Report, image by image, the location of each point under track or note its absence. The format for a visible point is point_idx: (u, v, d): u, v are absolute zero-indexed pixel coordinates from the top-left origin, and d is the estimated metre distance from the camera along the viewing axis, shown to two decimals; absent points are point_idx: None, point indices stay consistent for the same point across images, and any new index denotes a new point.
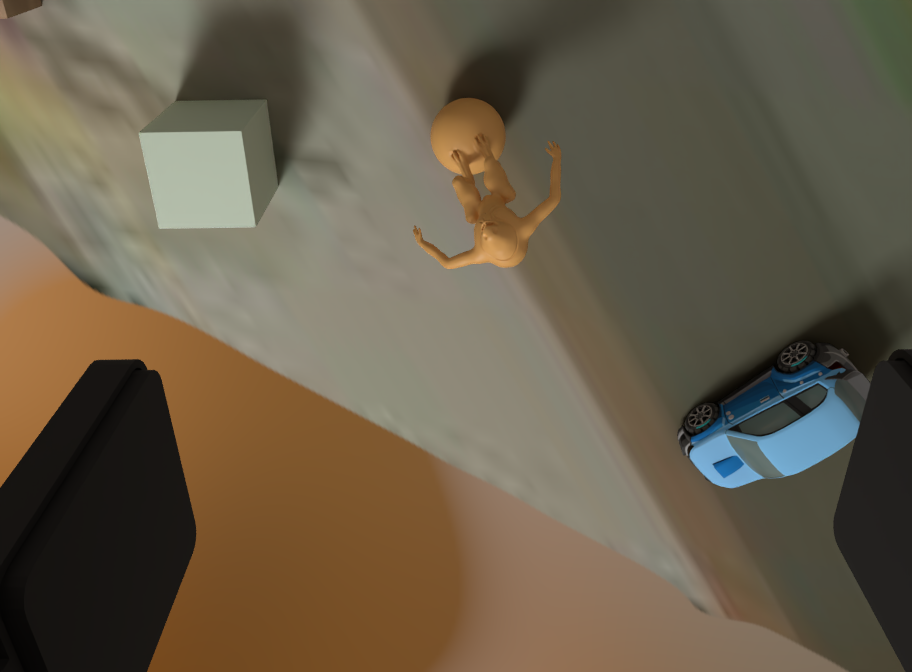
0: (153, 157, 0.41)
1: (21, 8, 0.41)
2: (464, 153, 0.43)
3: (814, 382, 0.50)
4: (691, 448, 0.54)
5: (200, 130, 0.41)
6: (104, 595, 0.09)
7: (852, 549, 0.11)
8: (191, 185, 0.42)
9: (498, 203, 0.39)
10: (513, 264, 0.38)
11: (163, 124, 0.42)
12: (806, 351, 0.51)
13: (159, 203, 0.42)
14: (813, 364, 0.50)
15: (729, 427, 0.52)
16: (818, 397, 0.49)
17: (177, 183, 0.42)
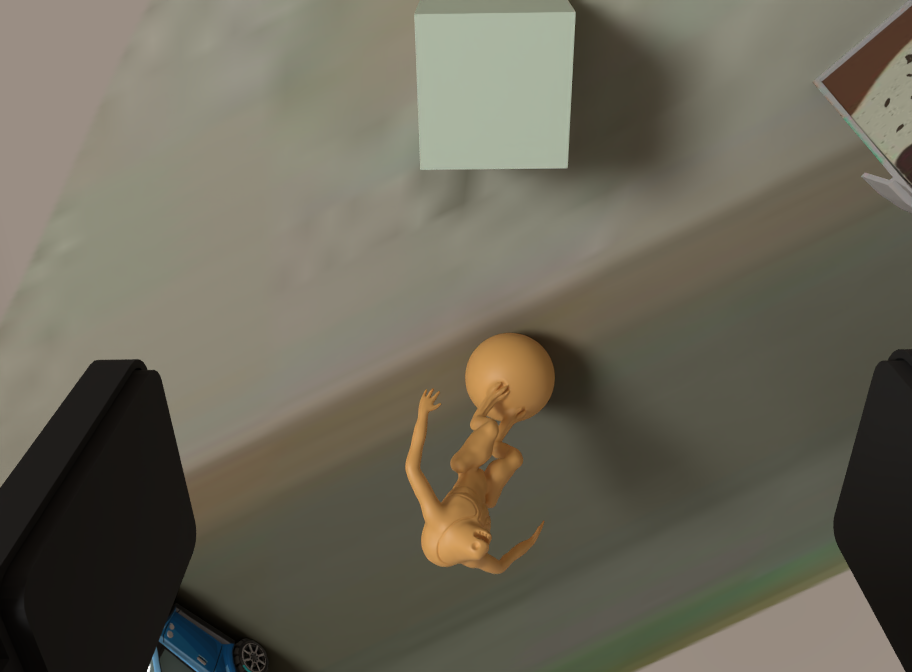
0: (534, 28, 0.26)
1: None
2: (505, 398, 0.35)
3: None
4: None
5: (569, 105, 0.27)
6: (104, 595, 0.09)
7: (852, 549, 0.11)
8: (487, 81, 0.27)
9: (485, 502, 0.32)
10: (430, 559, 0.30)
11: None
12: (261, 670, 0.48)
13: (458, 23, 0.26)
14: None
15: None
16: None
17: (491, 59, 0.27)
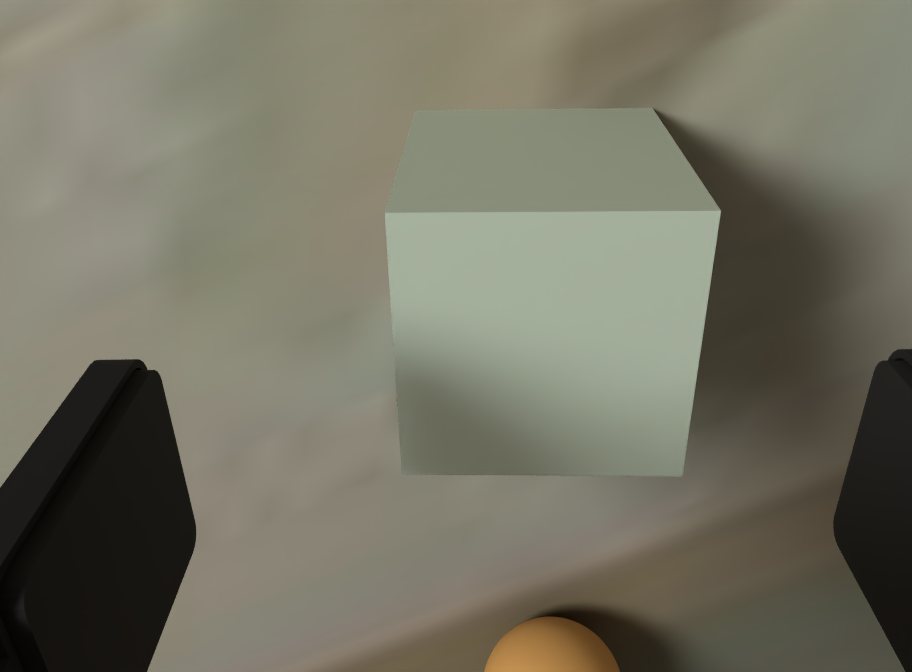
0: (632, 239, 0.13)
1: None
2: None
3: None
4: None
5: (692, 368, 0.14)
6: (104, 595, 0.09)
7: (852, 549, 0.11)
8: (533, 332, 0.13)
9: None
10: None
11: None
12: None
13: (475, 229, 0.13)
14: None
15: None
16: None
17: (542, 295, 0.13)
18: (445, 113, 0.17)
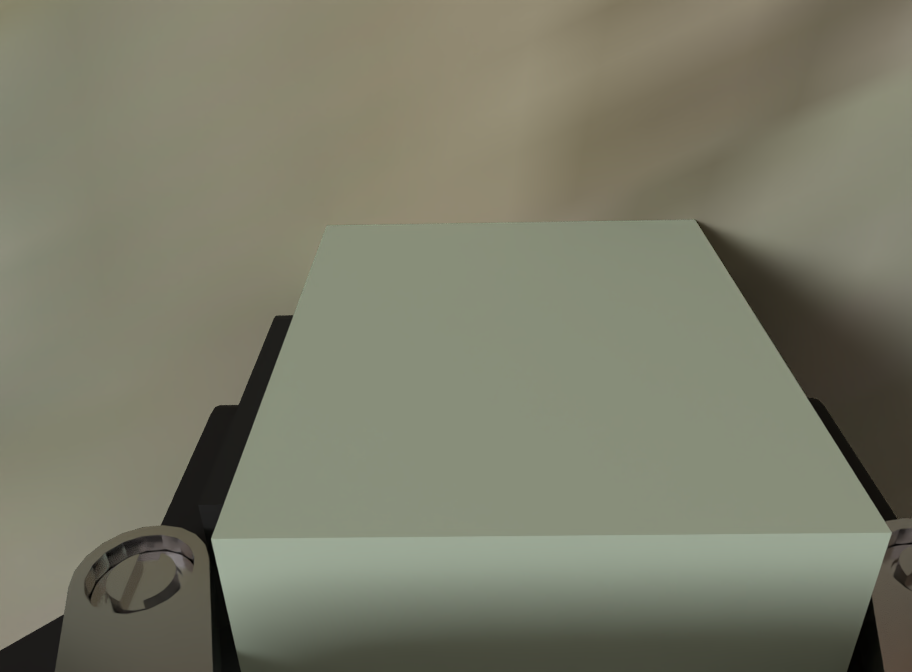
0: (710, 576, 0.06)
1: None
2: None
3: None
4: None
5: None
6: None
7: None
8: None
9: None
10: None
11: None
12: None
13: (396, 563, 0.06)
14: None
15: None
16: None
17: (530, 663, 0.07)
18: (372, 232, 0.11)
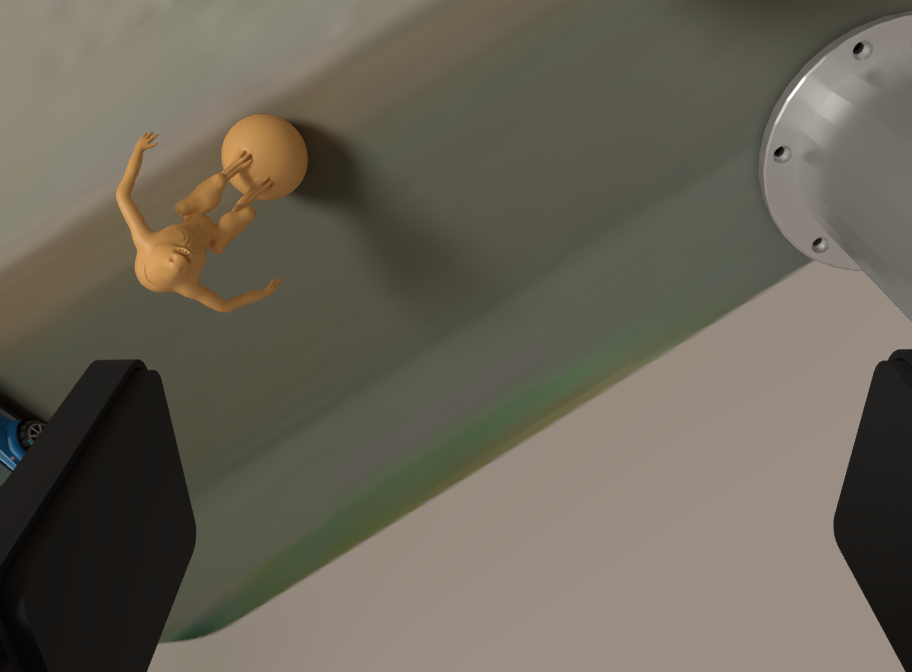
0: None
1: None
2: (248, 167, 0.38)
3: None
4: None
5: None
6: (103, 595, 0.09)
7: (852, 549, 0.11)
8: None
9: (207, 242, 0.34)
10: (141, 282, 0.33)
11: None
12: None
13: None
14: None
15: None
16: (0, 480, 0.46)
17: None
18: None
